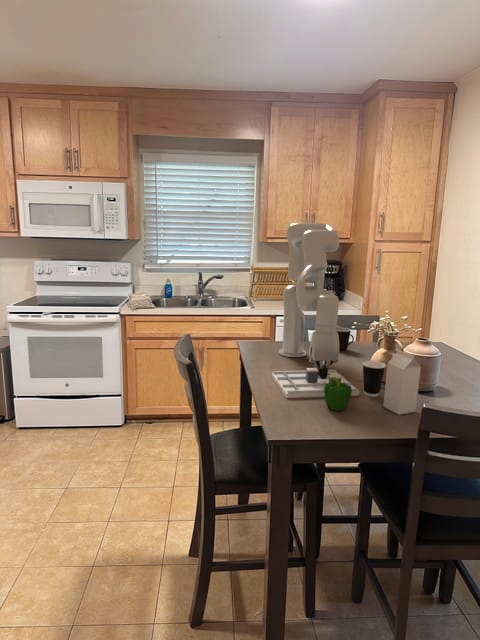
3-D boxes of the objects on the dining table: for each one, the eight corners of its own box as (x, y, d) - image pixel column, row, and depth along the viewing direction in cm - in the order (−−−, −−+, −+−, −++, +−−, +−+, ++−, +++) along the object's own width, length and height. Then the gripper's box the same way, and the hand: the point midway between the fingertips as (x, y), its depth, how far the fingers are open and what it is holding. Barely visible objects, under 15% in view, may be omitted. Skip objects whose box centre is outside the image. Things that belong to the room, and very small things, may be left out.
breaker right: (328, 387, 158) (329, 374, 158) (337, 386, 159) (338, 374, 158) (330, 389, 156) (331, 376, 155) (340, 389, 157) (341, 376, 156)
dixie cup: (386, 393, 159) (389, 363, 157) (378, 400, 153) (381, 368, 150) (364, 388, 164) (367, 359, 161) (356, 394, 157) (358, 364, 155)
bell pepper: (354, 412, 142) (357, 381, 140) (331, 414, 140) (333, 383, 138) (341, 402, 150) (343, 373, 148) (319, 404, 148) (321, 375, 146)
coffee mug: (328, 347, 219) (330, 327, 217) (345, 347, 220) (347, 327, 218) (336, 354, 208) (337, 332, 206) (354, 353, 209) (355, 333, 207)
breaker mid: (305, 380, 165) (306, 368, 164) (315, 379, 166) (315, 367, 165) (307, 382, 163) (308, 370, 162) (317, 382, 164) (318, 369, 163)
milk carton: (398, 415, 140) (404, 356, 137) (382, 406, 147) (388, 350, 143) (415, 412, 143) (422, 354, 139) (399, 404, 150) (405, 348, 146)
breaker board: (271, 376, 173) (271, 371, 173) (335, 375, 178) (336, 369, 177) (286, 398, 152) (286, 391, 152) (359, 395, 156) (359, 389, 156)
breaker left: (313, 372, 174) (314, 361, 173) (322, 372, 174) (323, 361, 174) (315, 374, 172) (316, 363, 171) (324, 374, 172) (325, 363, 171)
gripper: (341, 326, 166) (338, 374, 170) (302, 327, 163) (300, 375, 167) (349, 331, 159) (346, 380, 162) (309, 331, 156) (306, 382, 160)
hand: (322, 377), depth 165 cm, fingers closed
